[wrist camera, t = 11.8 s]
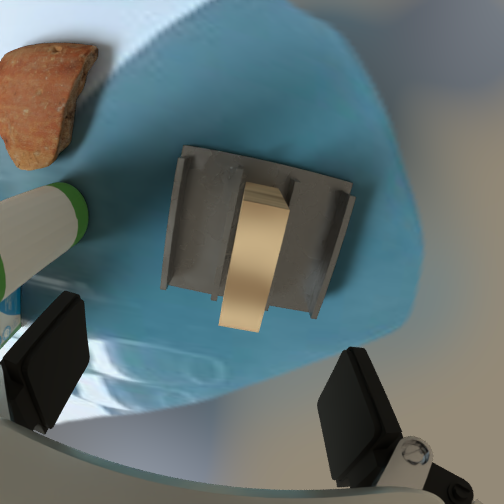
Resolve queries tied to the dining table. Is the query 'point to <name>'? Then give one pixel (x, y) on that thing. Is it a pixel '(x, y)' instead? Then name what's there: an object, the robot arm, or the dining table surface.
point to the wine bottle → (38, 231)
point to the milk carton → (10, 316)
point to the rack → (226, 219)
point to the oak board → (254, 256)
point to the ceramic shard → (41, 99)
